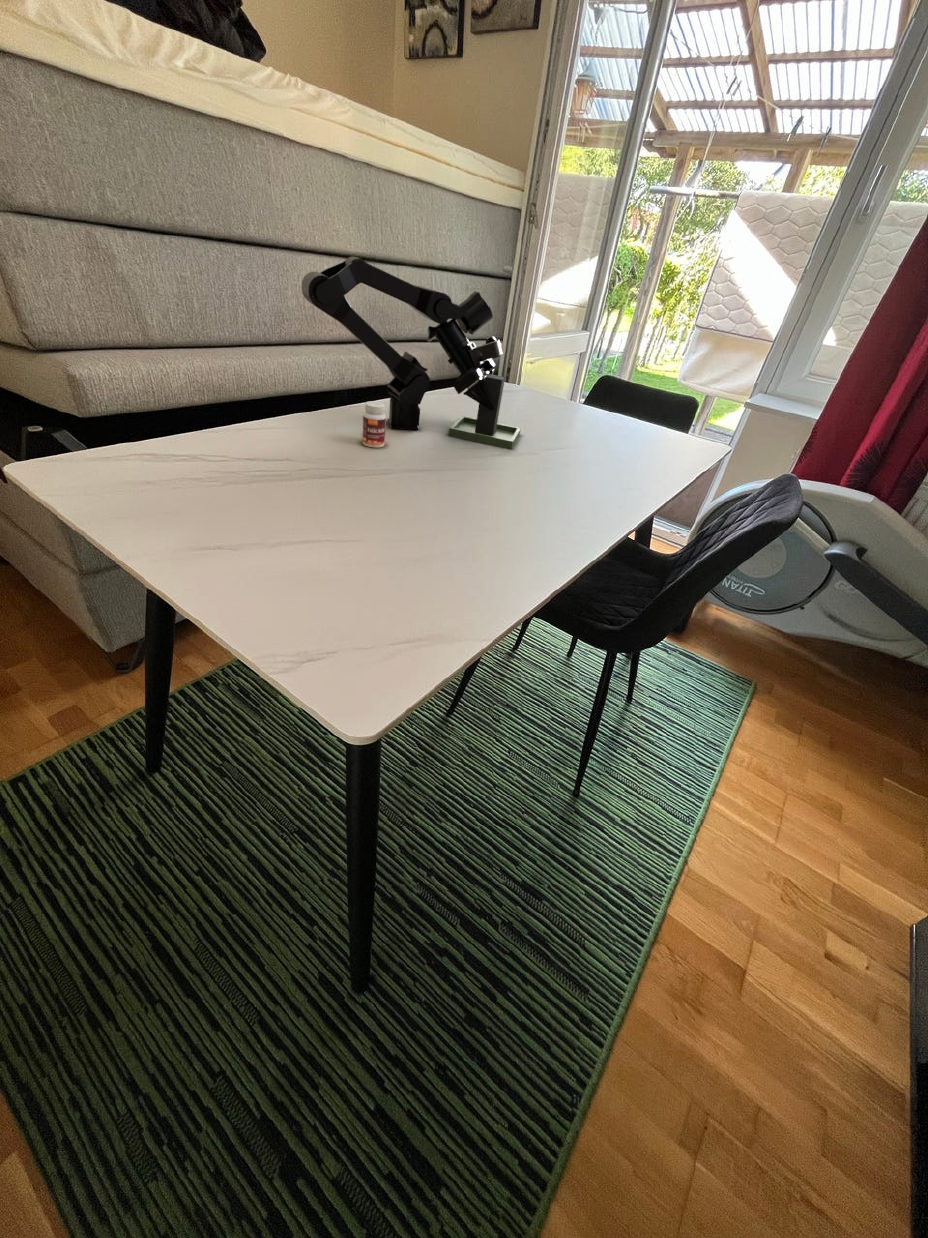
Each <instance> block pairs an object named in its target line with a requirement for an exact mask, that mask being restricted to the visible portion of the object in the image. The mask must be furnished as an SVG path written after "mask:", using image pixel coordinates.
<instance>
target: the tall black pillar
mask: <svg viewBox="0 0 928 1238" xmlns="http://www.w3.org/2000/svg"><path fill="white" fill-rule="evenodd" d="M485 376H486V382H485V387H486V389H487V391H488V393H489V395H490V398H491V400H492V402H493V404H494V407H495V408H494V409H493V410H492V411H491V410H489V409H487V408H486V407H484V406H483V405H481V404H480V403H478V409H477V416H476V419H477V421H476V428H475V433H479V434H484V435H488V436H493V435H494V434H495V433H496V427H497V423H498V421H499V415H500V411H501V410H500V409H501V403H502V398H503V397H502V396H503V391H504V387H505V381H506V376H502V375H498V374H494V373H493V374H488V373H487V374H485V375H484V376H483V377H485Z"/></svg>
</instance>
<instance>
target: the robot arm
mask: <svg viewBox="0 0 928 1238" xmlns="http://www.w3.org/2000/svg"><path fill="white" fill-rule="evenodd" d="M360 284H363V285H366V286H367V287H370V288H372V289H374V290H376V291H379V292H380V293H383V294H385V295H388V296H389V297H392V298H394V299H396V300H399V301H401V302H403V303H404V304H407V305H408V306H409V307H410V308H411V309H413V310H414V311H415V312H416V313H418V314H419V315H421V316H422V317H424V318H425V319H428V320H429V321H432V322H434V323H436V325H435V326H431V325H429V326H428V327H427V338H426V342H427V343H430V342H431V341H433V340H434V339H435V338H436V340H437V342H438V344H440V346H441V347H442V350H443V351H444V352H445V354H446V355H447V357H448V360H447V362H448V363H449V365H452V364H453V366H454V367H455V368H454V369H455V370H456V371H457V372H458V374H459V375H458V378H456V380H454V382H453V388H454V390H455V391H456V394H458V395H460V394H462V393H463V395H464V396H467V397H468V398H470V399H472V400H473V401H475V402H476V403H478V404H479V403H480V404H481V405H483V406H484V407H486V408H487V409H489V410H491V411H492V410H493V409H494V408H495V407H494V404H493V402H492V400H491V398H490V395H489V393H488V391H487V389H486V387H485V382H486V376H485V377H483V376H484V375H485V374H487V373H488V374H493V375H494V373H495V368H494V367H495V366H496V363H495V362H494V360H493V359H497V358H500V357H502V355H504V353H503V349H502V345H503V343H501V340H500V339H497V338H496V337H495V336H493V335H492V336H489V337H487V338H486V339H485V343H483V344H481V345H478V346H477V345H476V344H475V342H474V341H471V342H470V341H469V339H468V337H467V336H466V334H468V333H469V335H472V336H473V335H475V333H477V332H478V331H480V330H481V329H482V328H483V327H484V326H486V325H487V324H488V323H490V322H491V321H492V320H493V318H494V317H493V316H494V315H493V312H492V309H491V307H490V306H489V305H488V303H487V302H486V301H485V299H484V298H483V297H482V294H481V293H480V292H478V291H476V290H475V291H473V292H472V293H470V295H469V296H468V297H467V298H466V299H464V300H463V301H462V302H460V303H459V304H456V303H454V302H453V300H452V298H451V297H450V295H449V294H447V293H445V292H441V291H440V290H437V289H433V288H429V287H424V286H421V285H415V284H412V283H410V282H408V281H406V280H403V279H401V278H399V277H397V276H395V275H393V274H391V273H389V272H386V271H385V270H383V269H380V268H379V267H376V266H374V265H372V264H370V263H367V262H366V261H365V259H363V258H360V257H357V256H350V257H347V259H345V260H344V261H342V262H339V263H337V264H334V265H332V266H330V267H328V268H325V269H324V270H322V271H310V272H308V273H306V274H305V275H304V276H303V278H302V280H301V286H300V287H301V292H302V295H303V297H304V299H305V300H306V301H307V302H308V303H310V304H311V305H312V306H314V307H316V308H317V309H318V310H320V311H322V312H323V313H325V314H326V315H328V316H329V317H331V318H332V319H334V320H336V321H337V322H339V323H340V325H341V326H343V327H344V328H345V329H346V330H347V331H348V332H350V333H351V334H352V335H353V336H354V337H355V338H356V339H357V340H358V342H360V343H361V344H362V345H363V346H364V347H366V348H367V349H368V351H370V352H371V353H372V354H373V355H374V356H375V357H377V359H378V360H380V362H382V363H383V364H384V365H385V366H386V367H387V369H388V370H389V372H390V373H391V375H392V376H393V378H392V379H391V380H390V381H389V383H387V385H386V387H387V391H388V394H389V395H390V396H389V411H388V412H389V413H388V414H389V415H388V418H387V419H386V422H387V423H388V425H389V426H390V429H392V430H405V431H406V430H408V431H419V427H418V426H419V425H420V419H421V418H420V417H421V408H420V406H419V405H421V403H422V401H423V399H424V396H425V394H426V393H427V392H428V390H429V388H430V384H431V378H430V375H429V374H428V373H427V371H428V370H429V369H428V367H427V368H426V366H423V365H422V364H421V363H420V362H419V360H418V358H416V356H414V355H412V354H411V353H409V352H408V351H404V353H403V355H401V354H400V353H399V352H398V351H397V350H396V349H395V348H394V347H393V346H392V345H391V344H390V343H389V342H388V341H386V339H384V338H383V336H381V335H380V334H379V332H377V331H376V329H374V328H373V327H372V326H371V325H370V324H369V323H368V322H367V321H366V320H365V319H364V318H363V317H362V316H361V315H360V314H359V313H358V312H357V311H356V310H355V309H354V308H353V306H352V305H351V304H350V302H349V301H348V299H347V298H346V296H345V295H347V294H348V293H349V292H351V291H352V290H354V288H355V287H357V286H358V285H360Z"/></svg>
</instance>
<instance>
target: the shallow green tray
mask: <svg viewBox="0 0 928 1238" xmlns="http://www.w3.org/2000/svg"><path fill="white" fill-rule="evenodd" d="M476 421H477V418H474V417H470V416H465V415H461V416H460V417H459V418H458V419H457V420H456V421H455V422H454V423H453V424H452V425H451V426H450V427H449V428H448V436H449V437H454V438H457V439H463V440H468V441H471V442H477V443H480V444H486V445H490V446H495V447H500V448H503V449H508V450H513V447H514V446H515V444H516V442H517V440H518V439H519V437H520V435H521V431H522V428H521V427H517V426H513V425H509V424H503V423H498V422H497V427H496V433H495V434H494V435H493V436H488V435H484V434H479V433H475V428H476Z"/></svg>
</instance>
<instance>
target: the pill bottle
mask: <svg viewBox="0 0 928 1238" xmlns="http://www.w3.org/2000/svg"><path fill="white" fill-rule="evenodd" d="M385 407H386V406H385V404H384V403H383V402H379V401H373V400H372V401H371V400H370V401H369V400H368V401H366V402H365V403H364V412H363V414H362V444H363V445H364V446H365V447H369V448H375V449H376V448H377V449H378V448H382V447H384V446H385V444H386V443H385V439H386V422H387V416H386V414H385V410H386V409H385Z"/></svg>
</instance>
